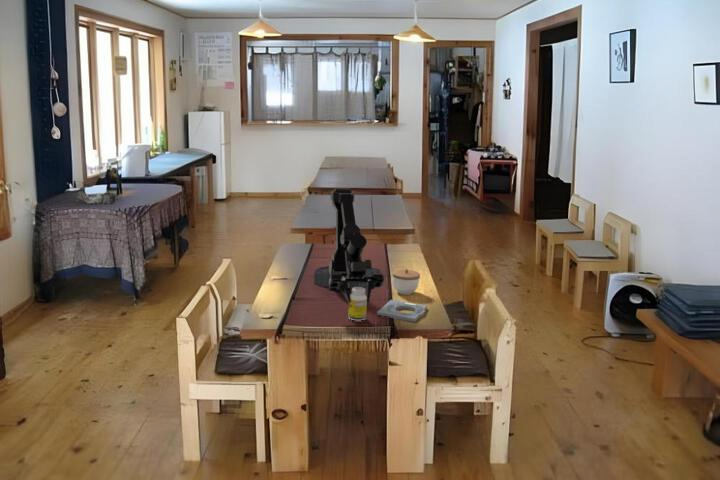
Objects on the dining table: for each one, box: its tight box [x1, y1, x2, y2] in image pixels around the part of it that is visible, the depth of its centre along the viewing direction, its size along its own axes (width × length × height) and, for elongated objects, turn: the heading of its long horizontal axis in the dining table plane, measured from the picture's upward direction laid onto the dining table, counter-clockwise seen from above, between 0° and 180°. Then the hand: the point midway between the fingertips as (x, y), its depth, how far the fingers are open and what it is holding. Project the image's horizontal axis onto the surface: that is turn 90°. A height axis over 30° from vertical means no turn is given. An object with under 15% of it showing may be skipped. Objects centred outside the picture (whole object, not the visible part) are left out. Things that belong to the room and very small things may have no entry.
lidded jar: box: [391, 268, 421, 296], centre depth 296 cm, size 11×11×9 cm
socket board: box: [376, 299, 428, 323], centre depth 274 cm, size 15×16×1 cm
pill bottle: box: [347, 286, 368, 322], centre depth 263 cm, size 6×6×11 cm
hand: (358, 302), depth 261 cm, fingers closed on pill bottle, 6 cm apart
